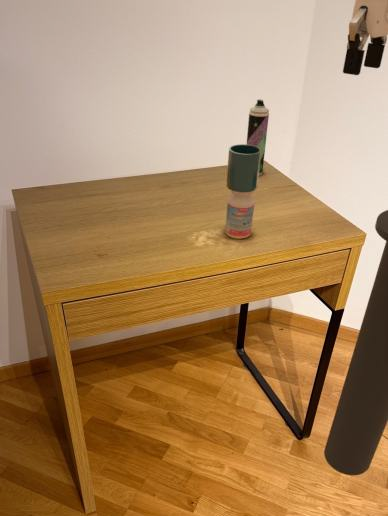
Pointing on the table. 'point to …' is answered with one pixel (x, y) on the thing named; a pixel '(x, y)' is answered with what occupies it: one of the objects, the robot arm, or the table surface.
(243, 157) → the cup
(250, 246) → the table surface
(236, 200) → the pill bottle
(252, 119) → the spray can
